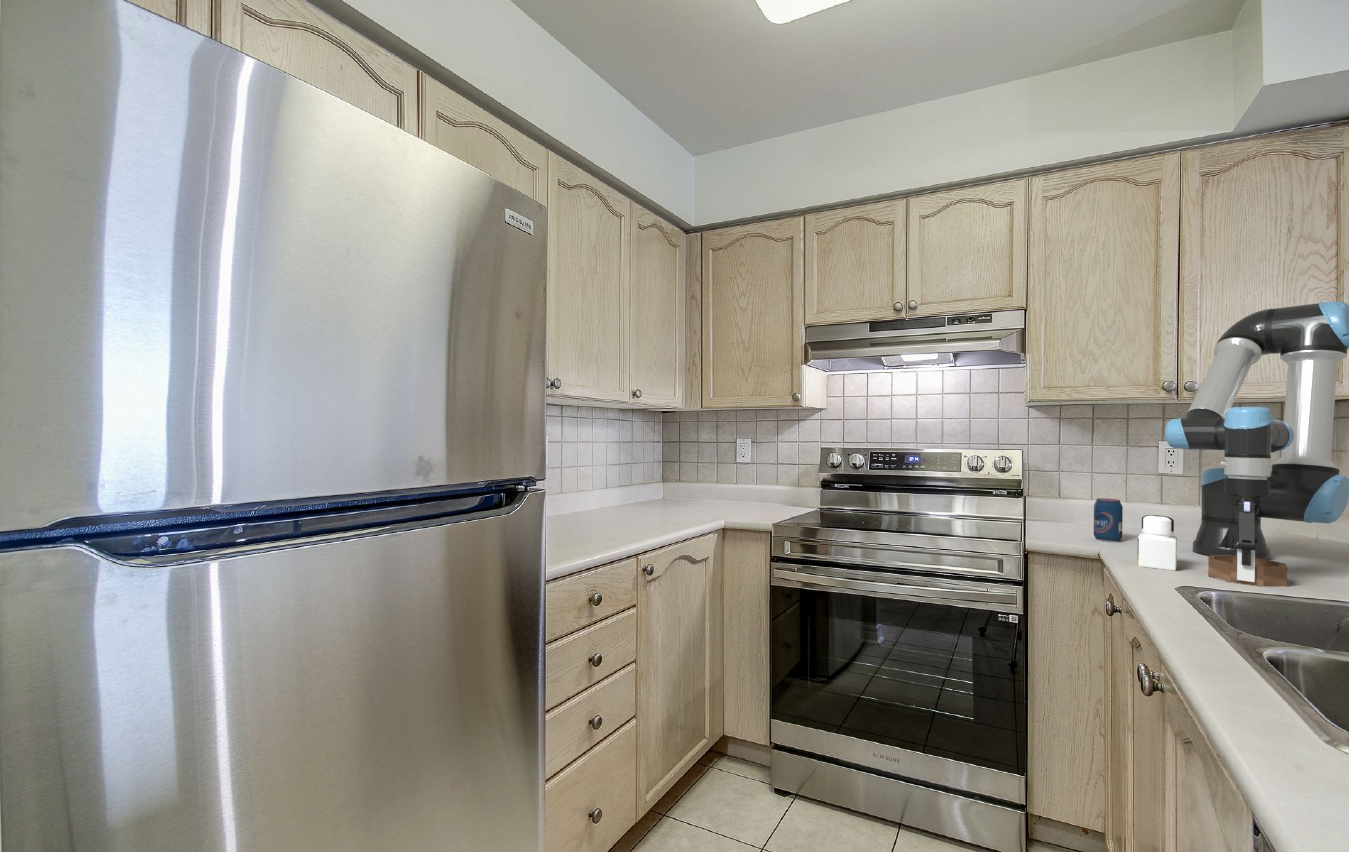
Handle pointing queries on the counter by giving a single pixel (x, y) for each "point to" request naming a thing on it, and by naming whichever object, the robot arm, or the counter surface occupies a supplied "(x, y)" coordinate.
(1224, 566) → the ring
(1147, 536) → the medicine bottle
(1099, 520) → the soda can
